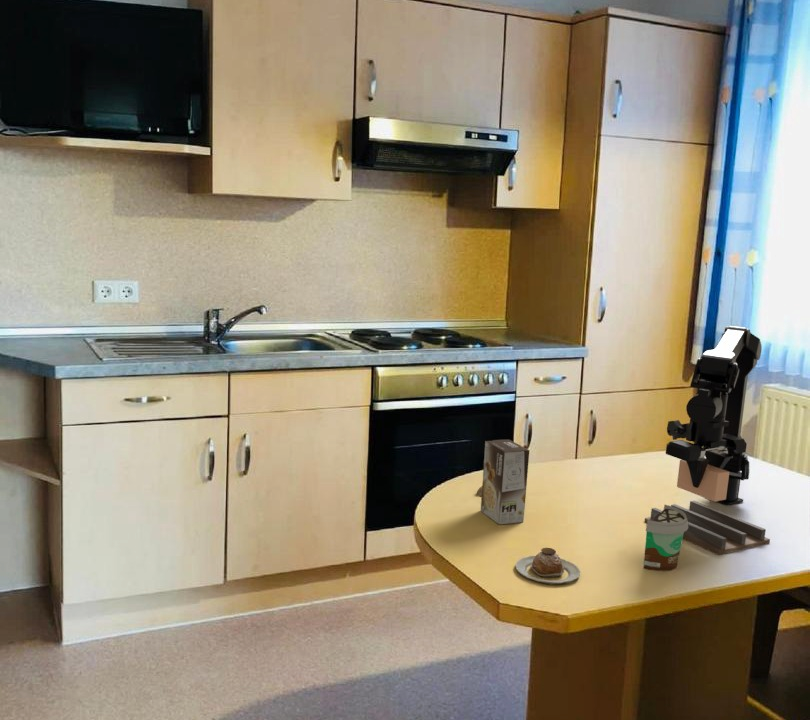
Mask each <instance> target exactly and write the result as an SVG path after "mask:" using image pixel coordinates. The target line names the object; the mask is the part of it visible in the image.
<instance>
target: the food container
mask: <svg viewBox="0 0 810 720" xmlns="http://www.w3.org/2000/svg"><path fill="white" fill-rule="evenodd" d="M645 526H646V527H645V532H646V533H645V535H646V536H645V545H644V546H645V547H644V557H643V558H644V559H643V569H645V570H648V571H654V572H655V571H656V572H668V571H672V570H675V569H676V568H677V567H678V562H679V559H680V554H681V553H680V552H681V547H682V542H683V540H684V539H683V534H684V532H685V531H686V530H687V529H688V519H687V517H686V514H685V513H684V512H683V511H681V510H679V509H677V508H675V507H672V506H671V505H668V504H664V506H663V509H662V512H661V513H659V514H657V515H656V517H655V518H654V519H653V520H652V521H650V520H648V521H647V522H646V525H645Z"/></svg>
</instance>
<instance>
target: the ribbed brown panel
mask: <svg viewBox="0 0 810 720" xmlns="http://www.w3.org/2000/svg"><path fill="white" fill-rule="evenodd" d="M670 506H672V507H675V508H677V509H679V510H681V511H683V512H684V513H685V514H686V517H687V519H688V529H687V530H686V531H685V532H684V534H683V539H682V540H685V541H687V542H690V543H692V544H693V545H696V546H697V547H700V548H702V549H705V550H707V551H709V552H712V553H713V554H716V555H718V556H720V555H724V554H727V553H728V554H729V553H733V552H736V551H742V550H745V549H750V548H754V547H757V546H762V545H766V544H770V542H771V539H770V538H768V537H766V530H767V529H766V528H763V527H761V526H759V525H757V524H754V523H751V522H749V521H746V520H743V519H741V518H739V517H737V516H734V515H731V514H728V513H727V512H724V511H722V510H718V509H716V508H713V507H711V506H709V505H706V504H703V503H701V502H698V501H696V500H690V501H689V507H688V508H685V507H684V506H680V505H678V504H676V503H673V504H671V505H670ZM650 510H651V512H650V516H648V517H645V518H644V522H645V523H647V521H648V520H650V521H652V520H653V519H654V518H655V517H656V515H657V514H659V513H661V512H662V511H663V509H662V510H661V509H660V508H657V507H652V508H651V509H650Z"/></svg>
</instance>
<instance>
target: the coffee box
mask: <svg viewBox="0 0 810 720" xmlns="http://www.w3.org/2000/svg"><path fill="white" fill-rule="evenodd" d="M484 442H485V443H484V459H483V472H482V485H481V486H482V496H481V498H480V499H481V500H480V512H481V513H483V514H485V515H486V516H487V517H489V518H490V519H491V520H493V522H495V523H496V524H498V525H507V524H509V525H510V524H517V523H518V524H519V523H523V522H524V519H525V509H526V499H527V496H526V495H527V485H528V484H527V483H528V473H529V459H530V458H529V457H530V450H529V449H527V448H526V447H524V446H522V445H520V444H518V443H516V442H514V441H513V440H511V439H493V440H485V441H484Z"/></svg>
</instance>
